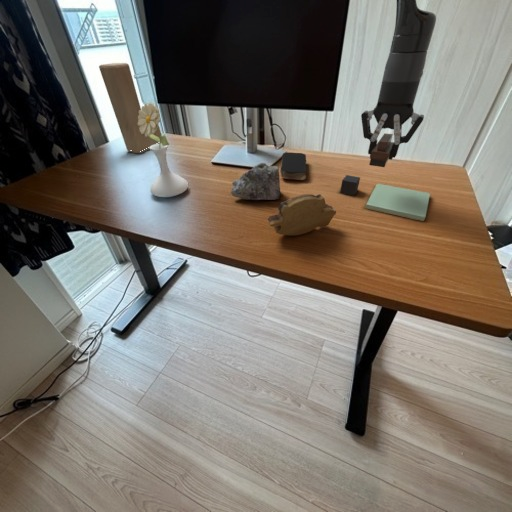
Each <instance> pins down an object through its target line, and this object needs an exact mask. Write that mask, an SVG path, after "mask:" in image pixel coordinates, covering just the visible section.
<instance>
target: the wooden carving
mask: <svg viewBox="0 0 512 512" xmlns="http://www.w3.org/2000/svg"><path fill="white" fill-rule="evenodd" d="M335 215H337V210H336V209H335V208H333V206H332V205H329V204H327V203H326V199H325V197H324V195H322V194H321V193H320V194H317V195H315V194H311V193H309V194H308V193H305V194H301V195H297V196H293V197H291V198H288V199H287V200H285V201H281V202H280V204H279V205H278V214H273V215H270V216H268V217H267V221H268V222H269V223H268V225H269V226H270V227H273V228H274V230H275V233H276V234H278V235H282V236H291V237H293V236H294V237H295V236H300V235H304V234H307V233H310V232H312V231H313V230H315V229H317V228H325V227H327V226H329V225H330V223H331V221H332V220H333V218H334V216H335Z"/></svg>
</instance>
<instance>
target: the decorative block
mask: <svg viewBox="0 0 512 512" xmlns="http://www.w3.org/2000/svg"><path fill="white" fill-rule="evenodd" d="M98 68H99V72H100V75H101V78H102V80H103V83H104V86H105V89H106V92H107V95H108V98H109V100H110V104H111V107H112V110H113V113H114V115H115V119H116V121H117V124H118V127H119V129H120V133H121V136H122V140H123V142H124V144H125V145H124V146H125V148H126V151H127V152H128V153H133V154H135V153H136V154H143V153H145V152H147V151H149V150H151V149H150V148H148V147H150V146H152V145H154V144H156V143H158V141H156V140H154V139H152V138H151V137H150V136H147V137H145V133H144V134H141V132H140V129H139V128H140V126H138V122H139V121H138V120H139V119H138V116H139V110H142V106H141V104H140V100H139V97H138V93H137V89H136V86H135V82H134V79H133V75H132V71H131V67H130V65H129V63H127V62H110V63H104V64H103V63H102V64H100V65H99V66H98ZM160 128H161V127H160V125H159V126H158V129H159V130H160V131H161V129H160ZM158 129H157V130H156V132H155V133H154V134H153V135H155V136H157V137H158V138H159V139H160V133H159V131H158ZM161 143H162V142H161ZM158 144H160V143H158ZM146 148H147V149H146ZM144 149H145V150H144ZM130 150H132V151H130ZM142 150H143V151H142ZM140 151H141V152H140Z"/></svg>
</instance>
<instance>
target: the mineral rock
mask: <svg viewBox="0 0 512 512" xmlns="http://www.w3.org/2000/svg"><path fill="white" fill-rule="evenodd" d="M280 180H281V179H280V170H279V167H278V166H277V165H268V164H267V163H265V162H260V163H258V164H256V165H254V166H253V167H252V168H251V169H250V170H248V171H246V172H243V174H242V175H241V176H240V177H239V178H238V179H235V180H234V181H233V182H232V183H231V184H232V189H231V191H230V193H231V195H232V196H233V197H234V198H238V199H242V200H248V201H249V200H253V201H260V200H262V201H263V200H265V201H266V200H271V201H272V200H274V201H275V200H279V199H280V197H281V193H282V192H281V186H280V183H281V182H280Z"/></svg>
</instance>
